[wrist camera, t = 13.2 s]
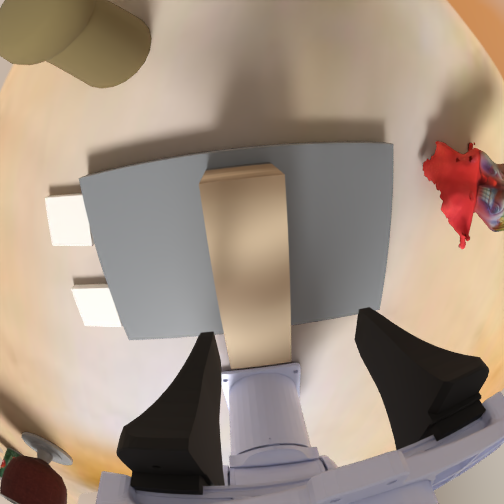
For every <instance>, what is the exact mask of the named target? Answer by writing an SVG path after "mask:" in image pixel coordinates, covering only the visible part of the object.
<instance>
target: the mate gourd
mask: <svg viewBox="0 0 504 504" xmlns="http://www.w3.org/2000/svg"><path fill="white" fill-rule="evenodd" d="M22 439H23V440H24V442H25V443H26V444H27V445H28V446H29V447H31V448H32V449H33V450H35V451H36V452H37V456H38V458H33V457H28V456H23V455H20V456H18V457H15V458H13V459H11V461H10V462H9V463H8V465H7V466H6V468H5V470H4V473H3V476H2V479H1V487H0V489H1V490H0V491H1V492H0V495H1V496H3V497H4V498H5V499H7V500H9V501H10V502H12V503H13V504H67V489H66V486H65V484H64V482H63V480H62V477H61V476H60V475H59V474H58V473H56V472H55V471H54V470H53V469H52V468H51V467H50V465H49V463H50V462H51V461H54V462H57V463H59V464H63V465H72V463H73V460H72V458H71V457H70V456H69V455H68V454H67V453H66V452H65V451H63V450H62V449H61V448H59V447H58V446H56V445H54V444H53V443H51V442H49V441H48V440H46V439H44V438H42V437H40V436H37V435H35V434H32V433H29V432H23V433H22Z"/></svg>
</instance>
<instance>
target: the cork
mask: <svg viewBox="0 0 504 504" xmlns="http://www.w3.org/2000/svg"><path fill="white" fill-rule="evenodd" d="M150 45H151V36H150V32H149V28H148V27H147V26H146V24H145V23H144V22H143V21H142V20H141V19H139V18H137V17H136V16H134V15H132V14H131V13H129V12H127V11H125V10H124V9H122V8H120V7H118V6H117V5H115V4H113V3H111V2H109V1H107V0H5V1H4V3H3V4H2V6H1V8H0V56H1V57H3V58H4V59H6V60H7V61H9V62H10V63H12V64H19V65H33V64H37V63H41V62H44V61H47V62H49V63H51V64H53V65H55V66H56V67H58V68H60V69H62V70H64V71H65V72H67V73H69V74H71V75H72V76H74V77H76V78H78V79H80V80H81V81H83V82H85V83H86V84H88V85H90V86H92V87H97V88H108V87H114V86H116V85H118V84H121V83H123V82H125V81H127V80H128V79H129V78H130V77H132V76H133V75H134V74H135V73H137V71H138V70H139V69H140V67H141V66H142V65H143V64H144V62H145V60H146V58H147V56H148V53H149V51H150Z"/></svg>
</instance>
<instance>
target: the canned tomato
mask: <svg viewBox="0 0 504 504" xmlns="http://www.w3.org/2000/svg"><path fill="white" fill-rule="evenodd" d="M20 455H22V454H20V453H19V452H17V451H15V450H14V449H12V448H9V447H8V448H7V451H6V453H5V456H4V459H3V462H2V464H1V467H0V479H2V476H3V473H4V470H5V468H6V466H7V465H8V463H9V462H10V461H11V459H13V458H15V457H18V456H20Z"/></svg>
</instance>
